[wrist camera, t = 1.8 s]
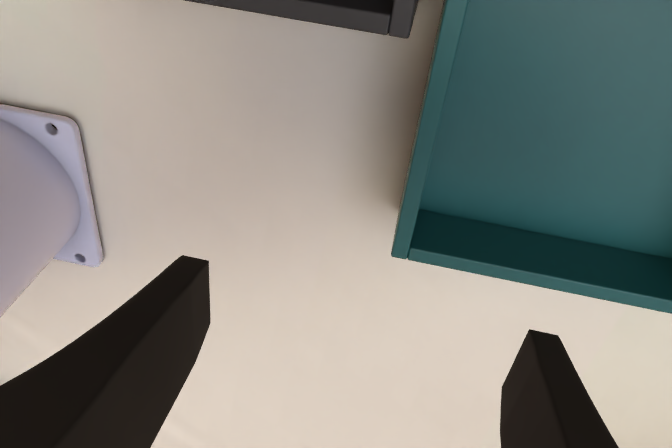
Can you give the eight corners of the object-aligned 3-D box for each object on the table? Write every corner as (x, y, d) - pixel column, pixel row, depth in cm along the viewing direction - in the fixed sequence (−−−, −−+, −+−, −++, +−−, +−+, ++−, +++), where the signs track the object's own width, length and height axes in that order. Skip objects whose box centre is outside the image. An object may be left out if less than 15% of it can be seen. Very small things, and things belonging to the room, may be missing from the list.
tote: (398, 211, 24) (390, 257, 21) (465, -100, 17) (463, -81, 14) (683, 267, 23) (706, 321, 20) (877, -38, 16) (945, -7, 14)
